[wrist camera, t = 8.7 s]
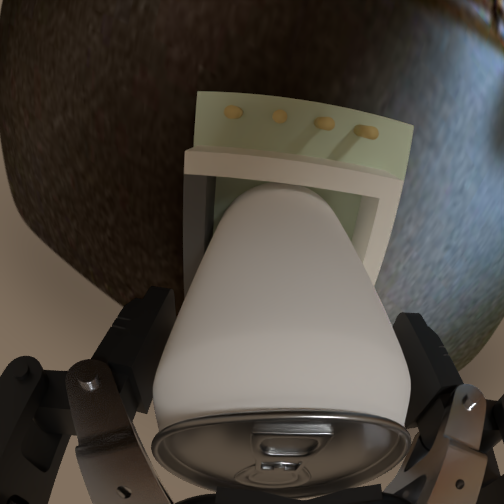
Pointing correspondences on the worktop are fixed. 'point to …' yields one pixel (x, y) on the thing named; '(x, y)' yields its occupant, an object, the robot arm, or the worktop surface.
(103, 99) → the worktop surface
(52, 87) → the worktop surface
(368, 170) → the socket board
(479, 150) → the worktop surface
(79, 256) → the worktop surface
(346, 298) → the can
